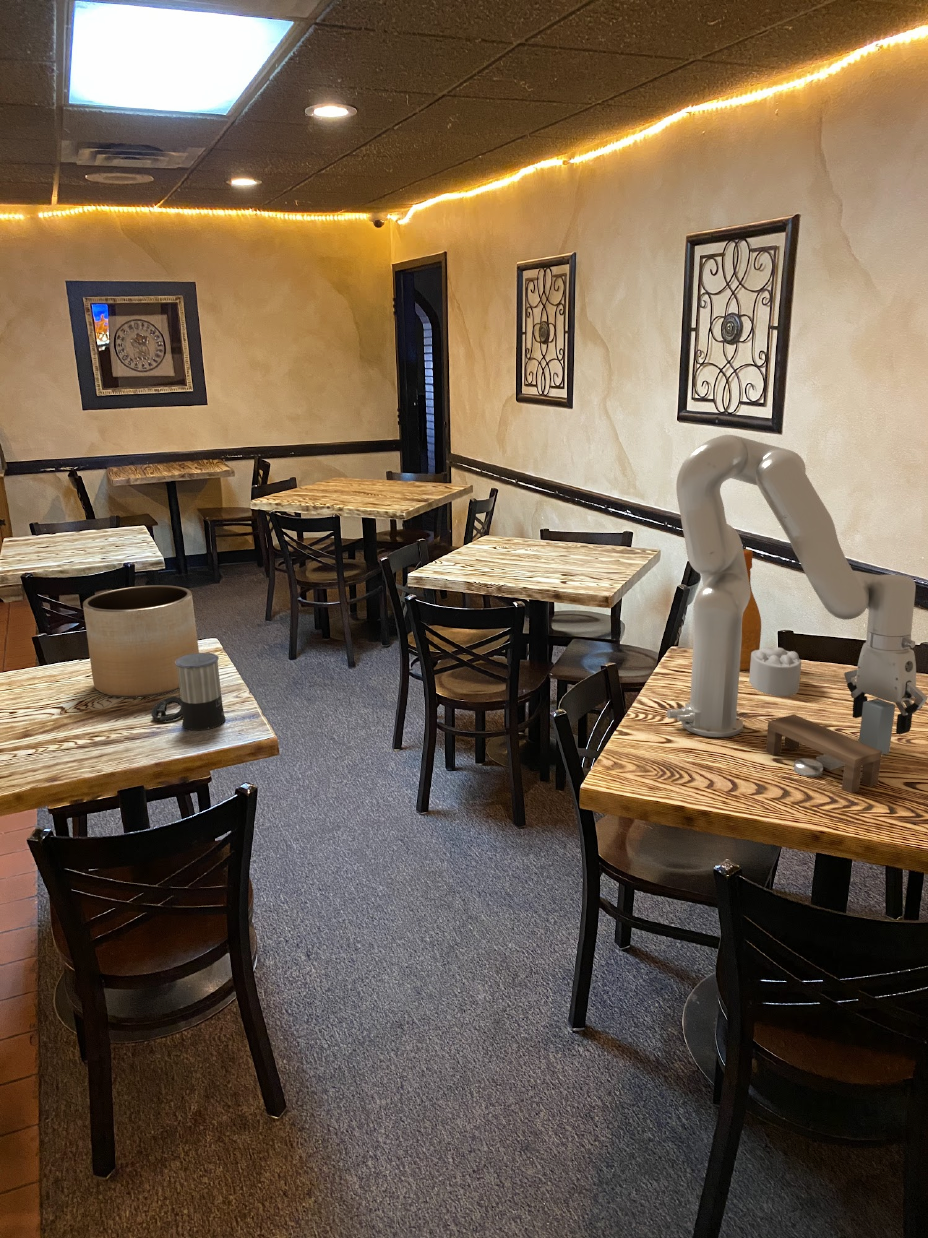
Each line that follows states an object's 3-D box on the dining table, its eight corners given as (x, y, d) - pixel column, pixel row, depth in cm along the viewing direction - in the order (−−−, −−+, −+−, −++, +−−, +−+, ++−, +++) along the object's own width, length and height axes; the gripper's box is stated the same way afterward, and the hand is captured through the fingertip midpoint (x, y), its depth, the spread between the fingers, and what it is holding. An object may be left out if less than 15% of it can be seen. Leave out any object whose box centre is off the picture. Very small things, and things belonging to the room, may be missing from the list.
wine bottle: (750, 658, 224) (758, 545, 216) (764, 671, 215) (773, 553, 207) (712, 659, 224) (720, 546, 216) (725, 672, 215) (733, 554, 206)
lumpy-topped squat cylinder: (788, 677, 211) (791, 643, 208) (806, 696, 198) (810, 660, 196) (745, 677, 211) (747, 644, 209) (761, 697, 199) (763, 661, 196)
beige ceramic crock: (101, 671, 224) (89, 589, 218) (202, 661, 231) (194, 581, 225) (87, 706, 201) (73, 615, 195) (200, 694, 207) (191, 605, 201)
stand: (851, 793, 153) (854, 759, 151) (765, 751, 170) (768, 721, 168) (877, 784, 156) (882, 751, 154) (791, 744, 173) (794, 714, 171)
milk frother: (226, 728, 187) (219, 663, 183) (149, 737, 183) (140, 671, 179) (224, 705, 200) (218, 644, 196) (153, 713, 196) (145, 651, 192)
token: (804, 779, 159) (806, 772, 158) (788, 767, 164) (789, 760, 163) (828, 776, 160) (829, 769, 160) (810, 764, 165) (811, 757, 164)
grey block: (871, 745, 172) (877, 698, 169) (889, 752, 169) (895, 704, 166) (814, 762, 165) (819, 713, 162) (831, 770, 162) (837, 721, 159)
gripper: (943, 648, 157) (934, 735, 162) (862, 626, 172) (856, 707, 177) (916, 655, 154) (907, 744, 159) (836, 633, 169) (830, 714, 174)
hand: (880, 724), depth 168 cm, fingers open, 9 cm apart
